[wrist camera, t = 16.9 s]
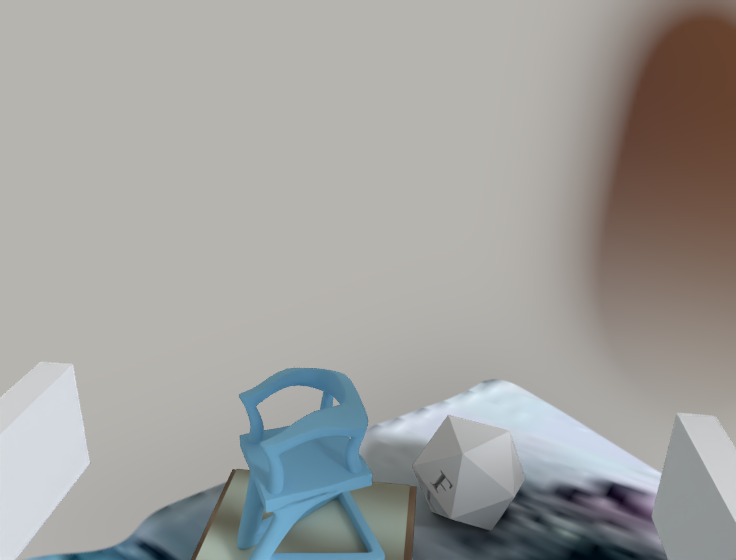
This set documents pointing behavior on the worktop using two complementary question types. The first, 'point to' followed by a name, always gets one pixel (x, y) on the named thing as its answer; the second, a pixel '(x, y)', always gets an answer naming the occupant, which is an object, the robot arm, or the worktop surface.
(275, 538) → the chair
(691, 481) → the robot arm
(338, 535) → the base block
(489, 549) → the worktop surface
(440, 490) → the die
